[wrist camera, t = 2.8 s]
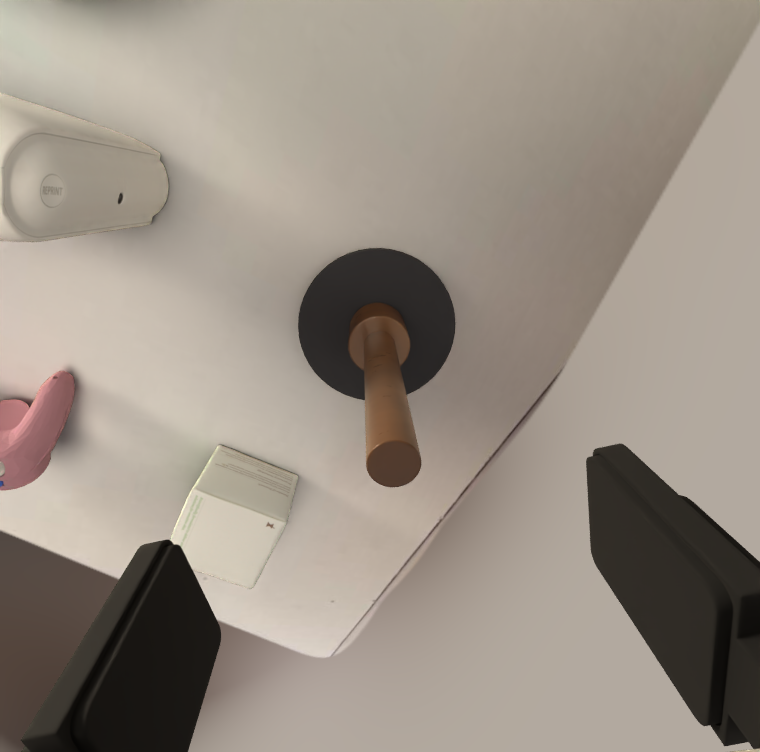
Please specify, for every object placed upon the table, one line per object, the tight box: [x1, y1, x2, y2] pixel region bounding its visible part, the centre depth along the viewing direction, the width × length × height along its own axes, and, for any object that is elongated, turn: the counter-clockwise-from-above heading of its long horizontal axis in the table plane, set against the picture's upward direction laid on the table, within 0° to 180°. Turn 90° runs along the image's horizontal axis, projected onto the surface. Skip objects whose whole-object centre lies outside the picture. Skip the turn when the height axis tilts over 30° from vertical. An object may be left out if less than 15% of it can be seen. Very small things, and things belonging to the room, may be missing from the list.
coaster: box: [298, 248, 455, 400], centre depth 26 cm, size 9×9×1 cm
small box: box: [170, 445, 298, 589], centre depth 28 cm, size 6×6×5 cm
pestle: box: [348, 303, 421, 487], centre depth 20 cm, size 3×3×14 cm
